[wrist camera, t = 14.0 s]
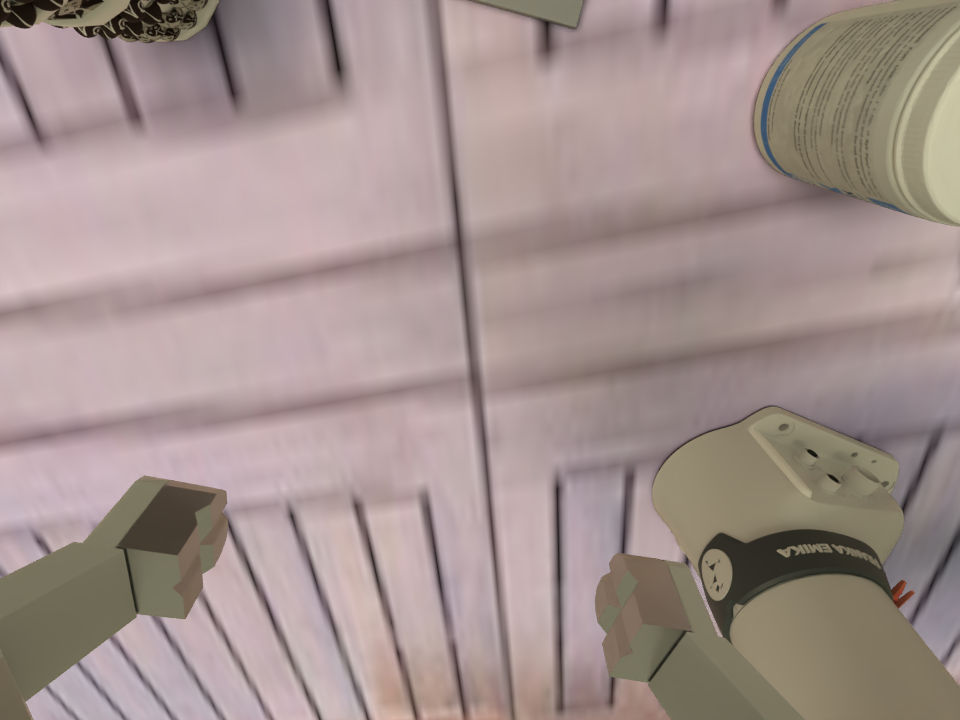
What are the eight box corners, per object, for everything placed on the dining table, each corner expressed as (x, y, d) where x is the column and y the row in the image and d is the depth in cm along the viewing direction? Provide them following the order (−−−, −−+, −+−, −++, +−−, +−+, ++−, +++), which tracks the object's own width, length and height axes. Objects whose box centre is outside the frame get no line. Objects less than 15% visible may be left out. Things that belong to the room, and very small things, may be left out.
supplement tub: (764, 201, 35) (923, 274, 23) (732, 63, 31) (904, 56, 18) (914, 131, 33) (1186, 169, 20) (901, -28, 29) (1231, -107, 16)
